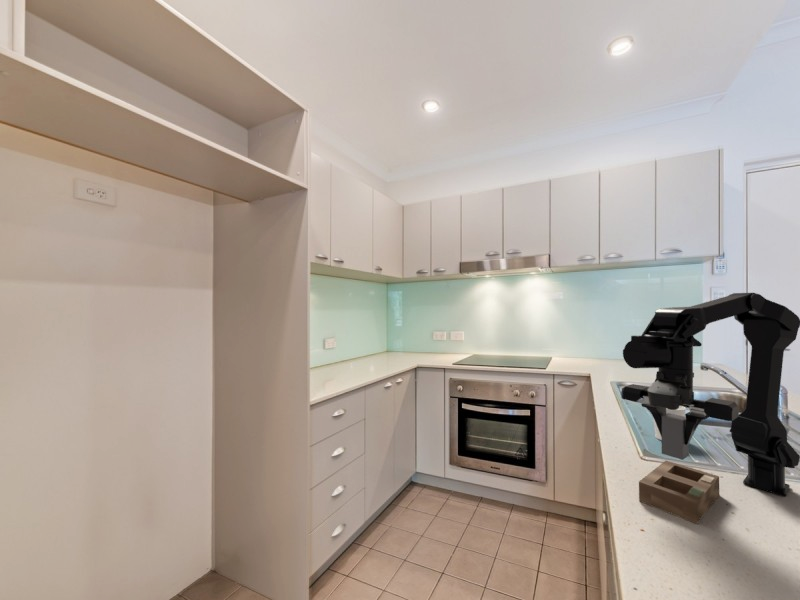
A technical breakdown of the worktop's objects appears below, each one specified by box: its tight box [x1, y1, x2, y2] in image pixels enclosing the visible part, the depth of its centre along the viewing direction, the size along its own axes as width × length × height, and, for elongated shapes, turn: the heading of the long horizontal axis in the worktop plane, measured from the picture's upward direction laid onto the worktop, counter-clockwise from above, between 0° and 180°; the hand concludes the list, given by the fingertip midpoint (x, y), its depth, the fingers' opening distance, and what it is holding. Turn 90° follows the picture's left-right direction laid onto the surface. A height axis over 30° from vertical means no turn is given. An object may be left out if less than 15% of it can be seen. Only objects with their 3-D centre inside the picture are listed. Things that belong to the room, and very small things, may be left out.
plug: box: [661, 413, 690, 461], centre depth 73 cm, size 4×4×8 cm
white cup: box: [652, 406, 687, 441], centre depth 104 cm, size 8×8×10 cm
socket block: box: [638, 460, 720, 525], centre depth 73 cm, size 16×9×4 cm, turn 126°
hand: (675, 441), depth 73 cm, fingers closed on plug, 4 cm apart
